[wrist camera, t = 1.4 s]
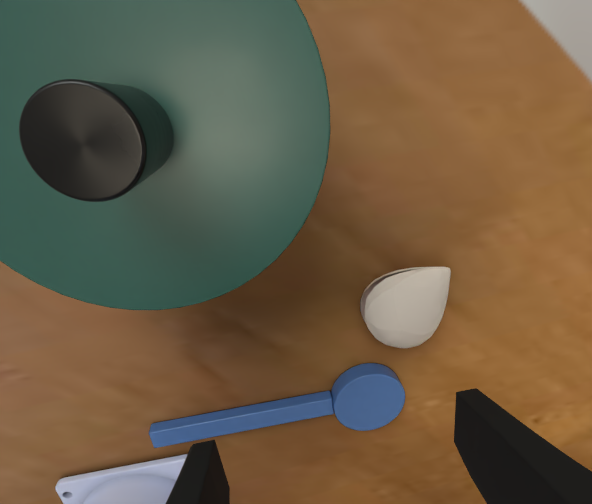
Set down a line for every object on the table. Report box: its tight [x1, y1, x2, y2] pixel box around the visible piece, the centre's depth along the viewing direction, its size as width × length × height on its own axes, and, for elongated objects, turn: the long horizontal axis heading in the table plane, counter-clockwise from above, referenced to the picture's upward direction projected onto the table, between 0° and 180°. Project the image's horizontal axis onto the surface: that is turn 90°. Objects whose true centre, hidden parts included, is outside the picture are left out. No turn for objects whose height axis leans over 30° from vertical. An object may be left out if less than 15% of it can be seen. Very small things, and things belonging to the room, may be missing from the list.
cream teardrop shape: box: [360, 267, 451, 348], centre depth 18 cm, size 4×5×2 cm
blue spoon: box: [149, 363, 405, 448], centre depth 21 cm, size 4×15×1 cm, turn 97°
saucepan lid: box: [0, 0, 330, 310], centre depth 9 cm, size 10×10×4 cm
